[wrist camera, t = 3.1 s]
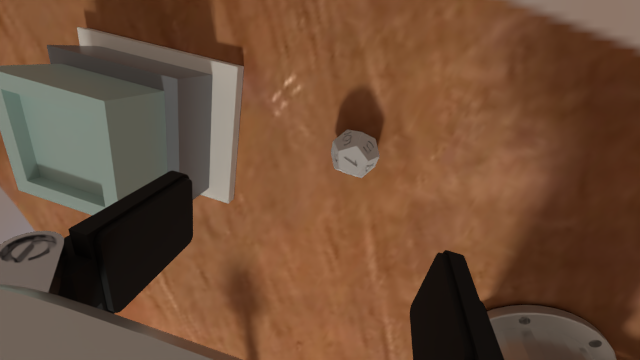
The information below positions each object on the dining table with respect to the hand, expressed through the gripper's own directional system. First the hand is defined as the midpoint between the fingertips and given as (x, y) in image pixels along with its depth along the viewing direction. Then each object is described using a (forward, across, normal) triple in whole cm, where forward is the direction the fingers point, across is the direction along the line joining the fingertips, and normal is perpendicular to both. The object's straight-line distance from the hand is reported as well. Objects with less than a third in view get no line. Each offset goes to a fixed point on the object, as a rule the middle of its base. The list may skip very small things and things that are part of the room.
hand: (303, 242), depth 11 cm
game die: (+14, -1, +1) cm, 14 cm away
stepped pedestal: (+14, +16, +3) cm, 21 cm away
